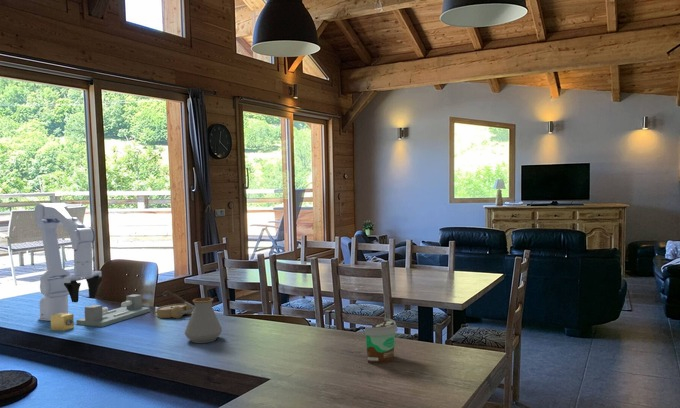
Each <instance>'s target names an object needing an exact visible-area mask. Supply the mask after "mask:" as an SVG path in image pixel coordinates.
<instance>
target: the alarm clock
mask: <svg viewBox="0 0 680 408" xmlns="http://www.w3.org/2000/svg"><path fill="white" fill-rule="evenodd" d="M193 310H194V309H193V308H191V307H189V306H188V305H186V304H185V303H173V304H168V305H167V304H166V305H163V306H159V307H157V308H156V311H154V312H153V313H154V314H156V317H157V318H158V317H159V318H160V319H166V318H172V319H175V318H177V319H181V318H182V316H183V315H187V314H190V315H192V313H193ZM159 318H158V319H159Z"/></svg>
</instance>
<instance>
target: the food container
mask: <svg viewBox="0 0 680 408" xmlns="http://www.w3.org/2000/svg"><path fill="white" fill-rule="evenodd" d="M383 320H384V321H382V322H381V323H380V322H379V323H376V324H374V325H373V326H370V327H369V326H365V330H364V335H365V339H366V340H365V341H366V354H367V355H366V357H367V358H366V359H367V363H368V364H386V363H387V364H388V363H390V362H393V360H394V355H395V354H394V353H395V343H396V342H395V339H396V333H397V332H398V326H397V323H396V321H395V320H394V319H391V318H387V317H384V319H383Z"/></svg>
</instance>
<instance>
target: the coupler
mask: <svg viewBox="0 0 680 408" xmlns="http://www.w3.org/2000/svg"><path fill="white" fill-rule="evenodd" d="M73 315H74V313H69V312H68V313H58V314H54V315H51V321H50V330H55V331H62V332H64V331H68V330H70V329H75V328H74V327H75V326H74V317H73Z"/></svg>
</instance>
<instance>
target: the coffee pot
mask: <svg viewBox="0 0 680 408" xmlns="http://www.w3.org/2000/svg"><path fill="white" fill-rule="evenodd" d="M165 293H166V294H165ZM164 294H165V295H164ZM168 294H169V296H171V297H172V298H174V299H175V300H176V301H179V302H181V304H186V305H188V306H189V307H191V308H193V311H192V313H191V314H190V318H189V320H188V323H187V325H186V328H185V330H184V335H185V337H186V338H187V339H189V341H190V342H192V343H194V344H205V343H210V342H214V341H216V339H217V338H218V337H219V336H220V335H221V333H222V332H223V329H222V326H221V324H220V322H219V319H218V318H217V315H216V312H215V310H214V309H213V306H212V304H213V301H214V298H212V297H198V298H194V299H193V300H192V303H193V304H194V305H193V304H192V303H190V302H188V301H187V300H185V299H183V298H182V297H180V296H179V295H177V294H175V293H173V292H172V291H169V290H165V291H164V292H163V293H162V296H167V295H168Z"/></svg>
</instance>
